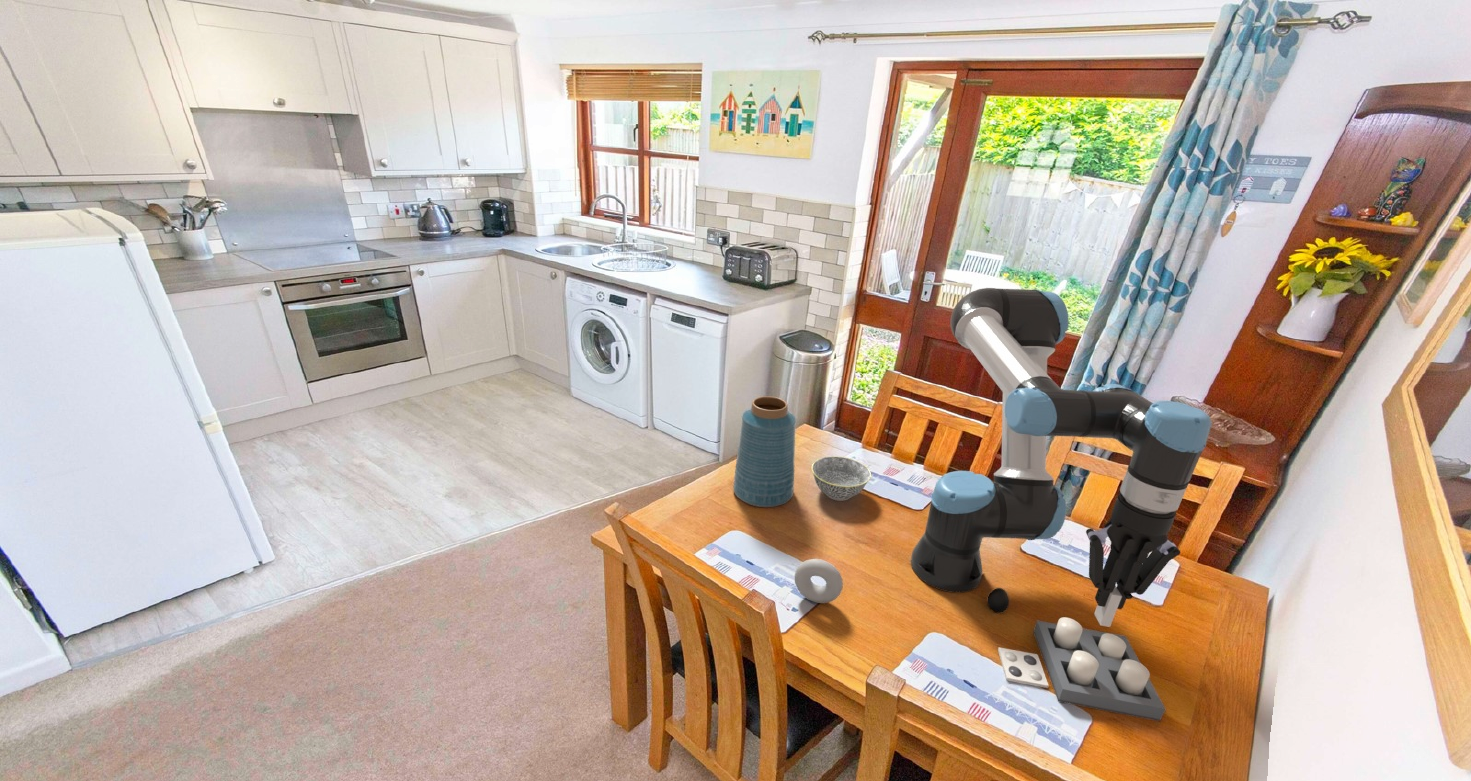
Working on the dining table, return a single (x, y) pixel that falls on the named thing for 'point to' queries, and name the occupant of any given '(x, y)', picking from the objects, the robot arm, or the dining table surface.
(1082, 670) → the button
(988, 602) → the egg
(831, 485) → the bowl
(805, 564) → the donut
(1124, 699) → the board
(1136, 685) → the button
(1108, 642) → the button
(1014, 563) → the dining table surface
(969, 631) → the dining table surface
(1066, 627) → the button
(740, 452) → the vase
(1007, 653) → the card
